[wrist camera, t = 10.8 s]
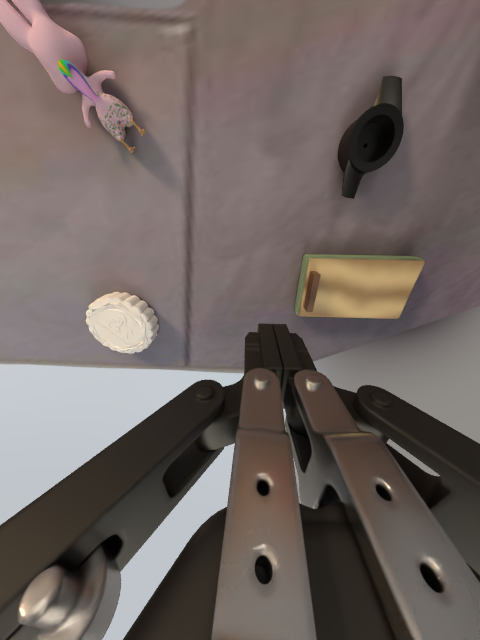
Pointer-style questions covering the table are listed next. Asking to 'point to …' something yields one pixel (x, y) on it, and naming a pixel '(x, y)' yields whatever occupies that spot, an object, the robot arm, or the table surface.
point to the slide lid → (358, 287)
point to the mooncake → (122, 322)
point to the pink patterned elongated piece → (66, 64)
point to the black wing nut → (372, 136)
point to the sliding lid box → (307, 256)
